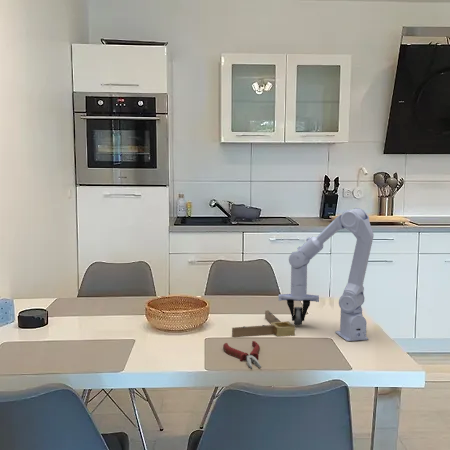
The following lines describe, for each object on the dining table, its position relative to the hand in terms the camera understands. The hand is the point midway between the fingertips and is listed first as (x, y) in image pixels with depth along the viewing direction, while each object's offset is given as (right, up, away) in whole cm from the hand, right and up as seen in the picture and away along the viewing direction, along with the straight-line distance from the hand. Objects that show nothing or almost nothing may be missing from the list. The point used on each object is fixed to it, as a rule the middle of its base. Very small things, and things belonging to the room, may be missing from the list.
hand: (298, 320), depth 197 cm
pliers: (-21, -7, -30) cm, 38 cm away
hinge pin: (0, -1, 0) cm, 1 cm away
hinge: (-15, -2, -2) cm, 16 cm away
